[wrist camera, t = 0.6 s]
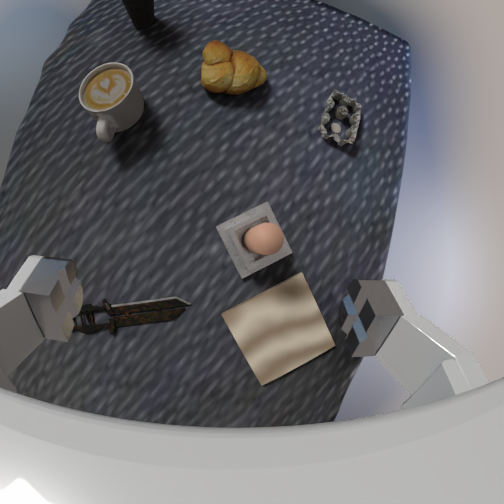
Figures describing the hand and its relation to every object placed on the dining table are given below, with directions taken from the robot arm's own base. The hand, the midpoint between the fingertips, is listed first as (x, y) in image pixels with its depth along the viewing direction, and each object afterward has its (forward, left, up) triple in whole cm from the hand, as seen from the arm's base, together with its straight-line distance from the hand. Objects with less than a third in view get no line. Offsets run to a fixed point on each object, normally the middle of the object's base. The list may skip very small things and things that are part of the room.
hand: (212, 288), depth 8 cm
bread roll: (+28, -18, -45) cm, 56 cm away
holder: (-2, -8, -45) cm, 46 cm away
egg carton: (+12, -34, -45) cm, 58 cm away
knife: (-3, +19, -46) cm, 50 cm away
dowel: (-2, -8, -44) cm, 45 cm away
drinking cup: (+53, -8, -45) cm, 70 cm away
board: (-19, -5, -45) cm, 49 cm away
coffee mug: (+31, +5, -45) cm, 55 cm away
